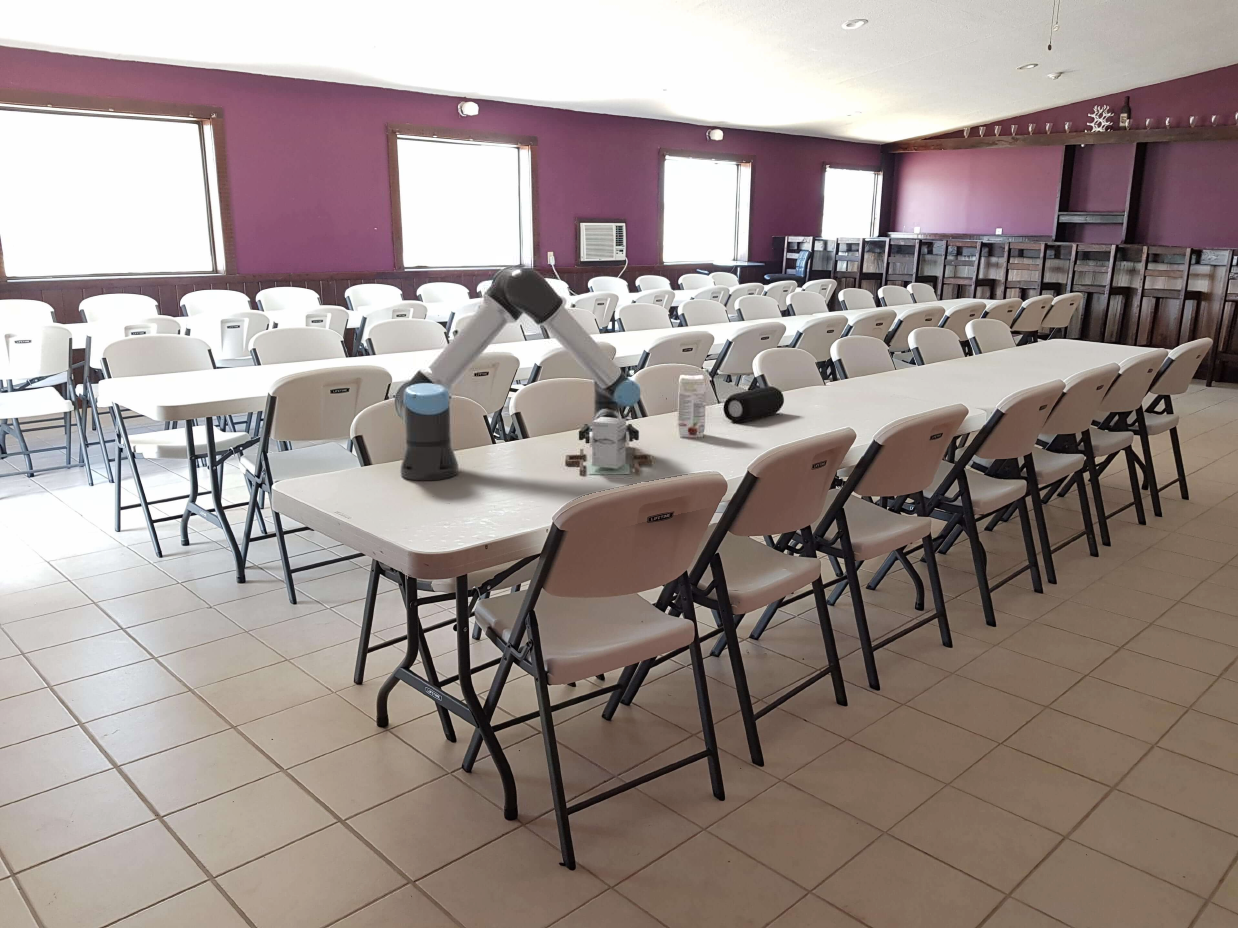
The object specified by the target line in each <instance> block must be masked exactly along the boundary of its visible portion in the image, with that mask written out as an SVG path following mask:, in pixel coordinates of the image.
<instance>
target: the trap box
mask: <svg viewBox="0 0 1238 928" xmlns="http://www.w3.org/2000/svg"><path fill="white" fill-rule="evenodd" d="M630 454H631V457H632V461H633V469H634V474H635V476H640V467H644V466H645V467H647V466H652V465H653V464H652V463H653V459H652V456H651V454H647V453H646V454H638V453H637V452H636V449H635V448H631V453H630ZM564 458H565V460H564V461H565V463H564V465H565V466H567V467H573V466H574V467H579V476H584V448H579V454H565V457H564Z"/></svg>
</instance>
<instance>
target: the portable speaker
mask: <svg viewBox="0 0 1238 928" xmlns="http://www.w3.org/2000/svg"><path fill="white" fill-rule="evenodd" d="M784 402H785V397H784V394H783V392H782V391H781V390H780V389H779V388H777V387H774V386H769V385H768V386H763V387H758V388H755V389H750V390H745V391H741V392H736V393H734V394H731V395H729V397H728V398H727V399H726V400H725V401H724V403H723V408H722V409H723V412H724V416H725V417H726V418H727V419H728V420H729V421H731V422H734V423H738V424H739V423H745V422H748V421H752V420H753V421H754V420H757V419H759V418H760V419H761V418H763V416H764V417H767V415H768V416H772V415H774V414H776V413H778V412H779V411H780V410H781V408H782V407H783V406H784ZM756 418H757V419H756Z"/></svg>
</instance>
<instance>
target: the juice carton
mask: <svg viewBox="0 0 1238 928" xmlns="http://www.w3.org/2000/svg"><path fill="white" fill-rule="evenodd" d="M677 387H678V390H677V392H678V393H677V428H678V433H679V436H680V438H688V439H689V438H694V439H695V438H699V439H700V438H703V435H704V434H705V433H704V432H705V428H706V402H707V400H706V399H707V393H706V392H707V384H706V380H705V377H704V375H703V374H701V375H700V374H699V375H686V374H680V375H679V380H678V386H677Z"/></svg>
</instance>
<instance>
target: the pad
mask: <svg viewBox="0 0 1238 928" xmlns="http://www.w3.org/2000/svg"><path fill="white" fill-rule="evenodd" d="M630 471H631V470H630V465H629V464H628V463H624V464H623V465H622V466H620V467H619V468H617V469H614V468H606V467H597V466H594V467H593V466H592V463H589V464H588V475H590V476H597V475H598V476H599V475H600V476H601V474H630V475H631V472H630Z"/></svg>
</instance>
